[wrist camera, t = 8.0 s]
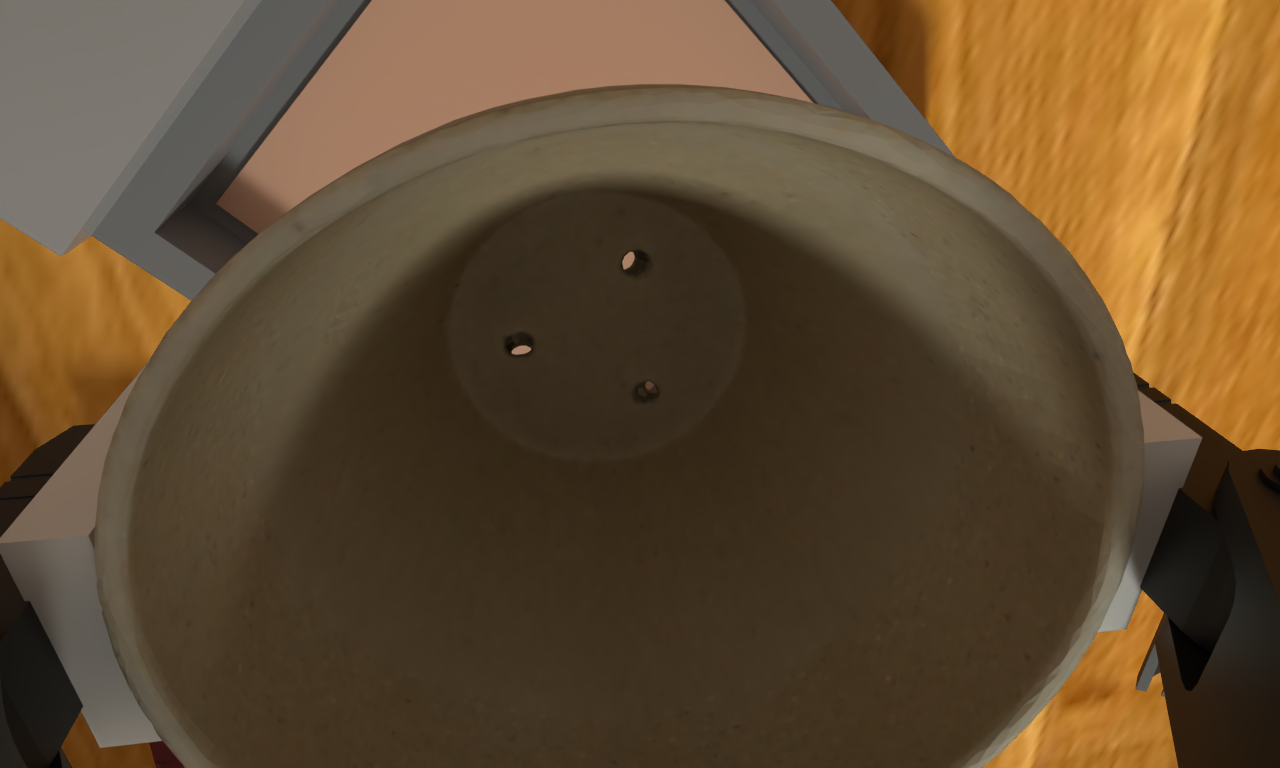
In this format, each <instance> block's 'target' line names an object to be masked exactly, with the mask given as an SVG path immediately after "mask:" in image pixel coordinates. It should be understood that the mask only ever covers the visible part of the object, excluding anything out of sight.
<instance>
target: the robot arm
mask: <svg viewBox="0 0 1280 768" xmlns="http://www.w3.org/2000/svg"><path fill="white" fill-rule="evenodd" d="M146 365H147V364H146ZM146 365H145V366H144V367H143V369H142V370H141V371H140V372H139V373H138V375H137V376H136V377H135V378H134V379H133V381H132V382H131V383H130V384H129V385H128V387H127V388H126V389H125V390H124V391H123V392H122V394H121V395H120V396H119V397H118V398H117V400H116V401H115V402H114V403H113V404H112V406H111V407H110V408H109V409H108V410H107V411H106V413H105V414H104V415H103V416H102V417H101V419H100V420H99V421H98V422H97V423H96V424H92V425H79V426H72V427H71V428H69V429H68V430H66V431H64V432H63V433H61V434H60V435H58V436H56V437H55V438H53V439H52V440H50V441H48V442H47V443H45V444H44V445H42V446H40V447H39V448H37V449H36V450H34V452H33V453H32V454H31V455H30V456H29V457H28V458H27V459H26V460H25V461H24V462H23V464H22V465H21V466H20V467H19V468H18V469H17V470H16V471H15V472H14V473H13V474H12V476H11V482H5V483H4V484H3V485H2V486H1V488H0V768H72V767H71V765H70V763H69V761H68V759H67V757H66V756H65V754H64V752H63V750H62V748H61V746H62V744H63V742H64V740H65V738H66V736H67V735H68V733H69V731H70V729H71V727H72V726H73V724H74V722H75V720H76V718H77V717H78V715H79V713H80V711H81V712H82V714H83V716H84V718H85V720H86V722H87V724H88V726H89V728H90V730H91V732H92V733H93V735H94V737H95V739H96V741H97V743H98V745H99V747H100V748H105V747H114V746H122V745H131V744H140V743H148V742H157V741H162V740H161V738H160V737H159V736H158V735H157V733H156V731H155V729H154V727H153V725H152V723H151V722H150V721H149V720H148V718H147V717H146V716H145V714H144V713H143V711H142V710H141V708H140V706H139V705H138V703H137V701H136V699H135V697H134V695H133V693H132V692H131V690H130V689H129V686H128V684H127V682H126V680H125V677H124V675H123V673H122V671H121V669H120V666H119V664H118V661H117V659H116V657H115V655H114V652H113V648H112V645H111V641H110V638H109V635H108V631H107V628H106V625H105V622H104V619H103V615H102V606H101V604H100V602H99V597H98V591H97V571H96V564H95V538H94V534H95V523H96V512H97V500H98V491H99V487H100V482H101V478H102V472H103V467H104V462H105V459H106V456H107V452H108V449H109V446H110V443H111V440H112V437H113V434H114V431H115V429H116V427H117V424H118V422H119V419H120V416H121V414H122V411H123V408H124V406H125V403H126V400H127V398H128V396H129V394H130V392H131V391H132V389H133V387H134V385H135V383H136V381H137V379H138V378H139V376H140V374H141V373H142V371H143V370H144V368H145V367H146ZM1133 374H1134V377H1135V380H1136V383H1137V388H1138V394H1139V400H1140V408H1141V416H1142V422H1143V428H1144V465H1145V481H1144V489H1143V500H1142V506H1141V511H1140V516H1139V520H1138V523H1137V527H1136V531H1135V539H1134V542H1133V546H1132V551H1131V555H1130V558H1129V561H1128V563H1127V566H1126V569H1125V572H1124V575H1123V578H1122V582H1121V584H1120V586H1119V588H1118V590H1117V592H1116V594H1115V596H1114V599H1113V601H1112V603H1111V605H1110V607H1109V609H1108V611H1107V613H1106V615H1105V618H1104V620H1103V622H1102V625H1101V627H1100V629H1099V630H1098V631H1097V632H1105V631H1113V630H1122V629H1127V626H1128V624H1129V621H1130V619H1131V616H1132V614H1133V611H1134V609H1135V606H1136V604H1137V601H1138V599H1139V596H1140V594H1141V591H1142V590H1143V591H1144V592H1145V593H1146V594H1147V595H1148V596H1149V597H1150V598H1151V599H1152V600H1153V601H1154V602H1155V603H1156V605H1157V606H1158V607H1159V608H1160V609H1161V610H1162V611H1163V612H1164V614H1163V617H1162V619H1161V622H1160V624H1159V626H1158V629H1157V631H1156V633H1155V636H1154V638H1153V640H1152V643H1151V645H1150V648H1149V650H1148V652H1147V655H1146V657H1145V659H1144V662H1143V664H1142V666H1141V669H1140V671H1139V674H1138V677H1137V683H1136V689H1138V690H1142V691H1147V689H1148V686H1149V684H1150V682H1151V680H1152V677H1153V676H1155V675H1156V674H1158V673H1161V678H1162V683H1163V688H1164V689H1163V691H1162V695H1161V696H1164V697H1165V699H1166V704H1167V710H1168V715H1169V720H1170V725H1171V731H1172V736H1173V741H1174V746H1175V752H1176V757H1177V762H1178V768H1280V451H1278V450H1267V449H1255V450H1248V451H1242V450H1241V449H1239V448H1238V447H1237V446H1235V445H1234V444H1232V443H1231V442H1230V441H1228V440H1227V439H1225V438H1224V437H1223V436H1221V435H1220V434H1218V433H1217V432H1216V431H1214V430H1213V429H1211V428H1210V427H1209V426H1207V425H1206V424H1205V423H1203V422H1202V421H1200V420H1199V419H1198V418H1196V417H1195V416H1193V415H1192V414H1191V413H1189V412H1188V411H1186V410H1185V409H1184V408H1182V407H1181V406H1179V405H1178V404H1171V399H1170V398H1168V397H1167V396H1165V395H1164V394H1163V393H1161V392H1160V391H1158V390H1157V389H1156V388H1149V383H1147V382H1146V381H1144V380H1143V379H1142V378H1140V377H1139V376H1137V375H1136V374H1135V373H1133Z"/></svg>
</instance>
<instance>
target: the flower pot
mask: <svg viewBox="0 0 1280 768" xmlns="http://www.w3.org/2000/svg"><path fill="white" fill-rule="evenodd" d="M629 252H633V253H634V256H635V257H634V261H633V263H632V265H631V266H630V267H629V268H627V269H624V268H623V264H622V261H623V259H624V257H625V256H626V255H627V254H628V253H629ZM518 346H528V347H530V348H531V350H530V351H529V352H527V353H524V354H517V355H516V354H512V351H513V350H514V349H515V348H516V347H518ZM648 381H650V382H652V383H653V384H654V385H655V386H656V389H657V391H651V390H649V389H647V388H646V387H645V385H646V382H648ZM1144 481H1145V465H1144V428H1143V422H1142V416H1141V408H1140V400H1139V394H1138V388H1137V383H1136V380H1135V377H1134V374H1133V370H1132V366H1131V362H1130V360H1129V358H1128V356H1127V354H1126V350H1125V347H1124V344H1123V340H1122V338H1121V336H1120V334H1119V332H1118V330H1117V328H1116V325H1115V323H1114V321H1113V319H1112V317H1111V315H1110V313H1109V311H1108V309H1107V307H1106V305H1105V303H1104V301H1103V299H1102V298H1101V297H1100V295H1099V294H1098V292H1097V291H1096V289H1095V288H1094V286H1093V285H1092V283H1091V282H1090V280H1089V278H1088V277H1087V275H1086V274H1085V272H1084V271H1083V270H1082V269H1081V267H1080V266H1079V264H1078V263H1077V262H1076V260H1075V259H1074V258H1073V256H1072V255H1071V253H1070V252H1069V251H1068V250H1067V249H1066V248H1065V247H1064V246H1063V245H1062V244H1061V242H1060V241H1059V240H1058V239H1057V238H1056V237H1055V236H1054V235H1053V234H1052V233H1051V232H1050V231H1049V229H1048V228H1047V227H1046V226H1045V225H1044V224H1043V223H1042V222H1041V221H1040V220H1039V219H1038V218H1036V217H1035V216H1034V215H1033V214H1032V213H1030V212H1029V211H1028V210H1027V209H1026V208H1024V207H1023V206H1022V205H1021V204H1020V203H1019V202H1018V201H1017V200H1016V199H1015V198H1014V197H1013V196H1012V195H1011V194H1010V193H1008V192H1007V191H1006V190H1004V189H1003V188H1002V187H1000V186H999V185H998V184H996V183H995V182H994V181H992V180H991V179H989V178H988V177H986V176H985V175H983V174H982V173H980V172H979V171H977V170H975V169H974V168H972V167H971V166H969V165H968V164H966V163H964V162H962V161H961V160H959V159H957V158H955V157H953V156H951V155H949V154H947V153H945V152H943V151H941V150H940V149H938V148H936V147H934V146H932V145H930V144H928V143H926V142H924V141H922V140H919V139H917V138H915V137H913V136H911V135H909V134H906V133H904V132H902V131H899V130H897V129H895V128H892V127H890V126H887V125H885V124H882V123H879V122H877V121H874V120H871V119H868V118H865V117H861V116H858V115H855V114H852V113H848V112H845V111H842V110H838V109H835V108H832V107H828V106H824V105H819V104H815V103H811V102H807V101H802V100H798V99H794V98H789V97H783V96H778V95H773V94H767V93H762V92H755V91H748V90H741V89H734V88H727V87H715V86H700V85H685V84H635V85H618V86H606V87H596V88H587V89H578V90H572V91H567V92H562V93H557V94H551V95H546V96H541V97H536V98H530V99H525V100H521V101H517V102H513V103H509V104H505V105H501V106H497V107H493V108H490V109H487V110H484V111H481V112H477V113H474V114H471V115H468V116H465V117H462V118H459V119H456V120H453V121H451V122H448V123H446V124H444V125H442V126H439V127H437V128H435V129H432V130H430V131H428V132H426V133H423V134H421V135H419V136H416V137H414V138H412V139H409V140H407V141H405V142H403V143H400V144H399V145H397V146H395V147H393V148H391V149H389V150H387V151H385V152H383V153H382V154H380V155H378V156H376V157H374V158H372V159H370V160H368V161H366V162H364V163H363V164H361V165H359V166H357V167H355V168H354V169H352V170H350V171H349V172H347V173H346V174H344V175H342V176H341V177H339V178H338V179H336V180H334V181H333V182H331V183H330V184H328V185H326V186H325V187H323V188H322V189H320V190H318V191H317V192H315V193H314V194H312V195H310V196H309V197H307V198H306V199H305V200H303V201H302V202H300V203H299V204H298V205H296V206H295V207H294V208H292V209H291V210H289V211H288V212H287V213H285V214H284V215H282V216H281V217H280V218H278V219H277V220H276V221H274V222H273V223H272V224H270V225H269V226H268V227H266V228H265V229H264V230H263V231H262V232H261V233H260V234H258V235H257V236H256V237H255V238H254V239H253V240H251V241H250V242H249V243H248V244H247V245H246V246H245V247H243V248H242V249H241V250H240V251H239V252H238V253H237V254H235V255H234V256H233V257H232V258H231V259H230V260H229V261H228V262H227V263H226V264H225V265H224V266H223V267H222V268H221V269H220V270H219V271H218V272H217V273H216V274H215V275H214V276H213V277H212V278H211V279H210V280H209V281H208V283H207V284H206V285H205V286H204V287H203V288H202V290H201V291H200V292H199V293H198V294H197V295H196V297H195V298H194V299H193V300H192V301H191V302H190V304H189V305H188V306H187V307H186V309H185V310H184V311H183V313H182V314H181V315H180V316H179V318H178V319H177V320H176V321H175V323H174V324H173V325H172V327H171V328H170V329H169V330H168V332H167V333H166V334H165V336H164V337H163V339H162V341H161V342H160V344H159V346H158V347H157V349H156V351H155V352H154V354H153V355H152V357H151V359H150V360H149V362H148V363H147V365H146V367H145V368H144V370H143V371H142V373H141V374H140V376H139V378H138V379H137V381H136V383H135V385H134V387H133V389H132V391H131V392H130V394H129V396H128V398H127V400H126V403H125V406H124V408H123V411H122V414H121V416H120V419H119V422H118V424H117V427H116V429H115V431H114V434H113V437H112V440H111V443H110V446H109V449H108V452H107V456H106V459H105V462H104V467H103V472H102V478H101V482H100V487H99V491H98V500H97V512H96V523H95V534H94V538H95V564H96V571H97V591H98V597H99V602H100V604H101V606H102V615H103V619H104V622H105V625H106V628H107V631H108V635H109V638H110V641H111V645H112V648H113V652H114V655H115V657H116V659H117V661H118V664H119V666H120V669H121V671H122V673H123V675H124V677H125V680H126V682H127V684H128V686H129V689H130V690H131V692H132V693H133V695H134V697H135V699H136V701H137V703H138V705H139V706H140V708H141V710H142V711H143V713H144V714H145V716H146V717H147V718H148V720H149V721H150V722H151V723H152V725H153V727H154V729H155V731H156V733H157V735H158V736H159V737H160V738H161V740H162V741H163V742H164V743H165V744H166V745H167V746H168V748H169V749H170V750H171V751H172V753H173V754H174V755H175V756H176V757H177V759H178V760H179V761H180V762H181V763H182V764H183V765H184V766H185V767H186V768H983V767H984V766H985V765H986V764H987V763H988V762H990V761H991V760H992V759H993V758H994V757H996V756H997V755H998V754H999V753H1001V752H1002V751H1003V750H1004V749H1005V748H1006V747H1007V746H1008V745H1009V744H1010V743H1011V742H1012V741H1013V740H1014V739H1015V738H1016V737H1017V736H1018V735H1019V734H1020V733H1021V732H1022V731H1023V730H1024V729H1025V728H1026V727H1027V726H1028V725H1029V724H1030V723H1031V722H1032V721H1033V719H1034V718H1035V717H1036V716H1037V715H1038V714H1039V713H1040V712H1041V711H1042V710H1043V708H1044V707H1045V706H1046V705H1047V704H1048V703H1049V701H1050V700H1051V699H1052V698H1053V697H1054V696H1055V694H1056V693H1057V692H1058V691H1059V690H1060V688H1061V687H1062V686H1063V684H1064V683H1065V682H1066V680H1067V679H1068V677H1069V676H1070V675H1071V673H1072V672H1073V671H1074V669H1075V668H1076V667H1077V665H1078V663H1079V661H1080V659H1081V658H1082V656H1083V655H1084V654H1085V652H1086V651H1087V649H1088V648H1089V646H1090V645H1091V643H1092V642H1093V640H1094V638H1095V636H1096V634H1097V631H1098V630H1099V629H1100V627H1101V625H1102V622H1103V620H1104V618H1105V615H1106V613H1107V611H1108V609H1109V607H1110V605H1111V603H1112V601H1113V599H1114V596H1115V594H1116V592H1117V590H1118V588H1119V586H1120V584H1121V582H1122V578H1123V575H1124V572H1125V569H1126V566H1127V563H1128V561H1129V558H1130V555H1131V551H1132V546H1133V542H1134V539H1135V531H1136V527H1137V523H1138V520H1139V516H1140V511H1141V506H1142V500H1143V489H1144Z"/></svg>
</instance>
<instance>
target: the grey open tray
mask: <svg viewBox="0 0 1280 768" xmlns="http://www.w3.org/2000/svg"><path fill="white" fill-rule="evenodd" d="M635 84H685V85H700V86H715V87H727V88H734V89H741V90H748V91H755V92H762V93H767V94H773V95H778V96H783V97H789V98H794V99H798V100H802V101H807V102H811V103H815V104H819V105H824V106H828V107H832V108H835V109H838V110H842V111H845V112H848V113H852V114H855V115H858V116H861V117H865V118H868V119H871V120H874V121H877V122H879V123H882V124H885V125H887V126H890V127H892V128H895V129H897V130H899V131H902V132H904V133H906V134H909V135H911V136H913V137H915V138H917V139H919V140H922V141H924V142H926V143H928V144H930V145H932V146H934V147H936V148H938V149H940V150H941V151H943V152H945V153H947V154H949V155H951V156H953V157H955V156H954V155H953V154H952V152H951V151H950V150H949V149H948V147H947V146H946V145H945V144H944V142H943V141H942V140H941V139H940V137H939V136H938V135H937V133H936V132H935V131H934V130H933V128H932V127H931V126H930V125H929V123H928V122H927V121H926V120H925V118H924V117H923V116H922V114H921V113H920V112H919V111H918V109H917V108H916V107H915V106H914V104H913V103H912V102H911V101H910V99H909V98H908V97H907V96H906V94H905V93H904V92H903V90H902V89H901V88H900V87H899V85H898V84H897V83H896V82H895V80H894V79H893V78H892V77H891V75H890V74H889V73H888V71H887V70H886V69H885V68H884V66H883V65H882V64H881V63H880V61H879V60H878V59H877V58H876V56H875V55H874V54H873V53H872V51H871V50H870V49H869V47H868V46H867V45H866V44H865V42H864V41H863V40H862V39H861V37H860V36H859V35H858V34H857V32H856V31H855V30H854V28H853V27H852V26H851V25H850V23H849V22H848V21H847V20H846V18H845V17H844V16H843V15H842V13H841V12H840V11H839V10H838V8H837V7H836V6H835V4H834V3H833V2H832V1H831V0H0V219H2V220H4V221H5V222H7V223H8V224H10V225H11V226H13V227H15V228H16V229H18V230H19V231H21V232H23V233H24V234H26V235H27V236H29V237H31V238H32V239H34V240H35V241H37V242H39V243H40V244H42V245H43V246H45V247H46V248H48V249H50V250H51V251H53V252H54V253H56V254H58V255H59V256H63V255H64V254H66V253H67V252H69V251H70V250H71V249H73V248H74V247H76V246H77V245H79V244H80V243H81V242H83V241H84V240H86V239H87V238H89V237H90V236H93V237H94V238H96V239H98V240H99V241H101V242H102V243H104V244H105V245H107V246H108V247H110V248H111V249H113V250H114V251H116V252H117V253H119V254H121V255H122V256H124V257H125V258H127V259H128V260H130V261H131V262H133V263H134V264H136V265H137V266H139V267H141V268H142V269H144V270H145V271H147V272H148V273H150V274H151V275H153V276H154V277H156V278H157V279H159V280H161V281H162V282H164V283H165V284H167V285H168V286H170V287H171V288H173V289H174V290H176V291H177V292H179V293H181V294H182V295H184V296H185V297H187V298H188V299H190V300H191V301H192V300H193V299H194V298H195V297H196V295H197V294H198V293H199V292H200V291H201V290H202V288H203V287H204V286H205V285H206V284H207V283H208V281H209V280H210V279H211V278H212V277H213V276H214V275H215V274H216V273H217V272H218V271H219V270H220V269H221V268H222V267H223V266H224V265H225V264H226V263H227V262H228V261H229V260H230V259H231V258H232V257H233V256H234V255H235V254H237V253H238V252H239V251H240V250H241V249H242V248H243V247H245V246H246V245H247V244H248V243H249V242H250V241H251V240H253V239H254V238H255V237H256V236H257V235H258V234H260V233H261V232H262V231H263V230H264V229H265V228H266V227H268V226H269V225H270V224H272V223H273V222H274V221H276V220H277V219H278V218H280V217H281V216H282V215H284V214H285V213H287V212H288V211H289V210H291V209H292V208H294V207H295V206H296V205H298V204H299V203H300V202H302V201H303V200H305V199H306V198H307V197H309V196H310V195H312V194H314V193H315V192H317V191H318V190H320V189H322V188H323V187H325V186H326V185H328V184H330V183H331V182H333V181H334V180H336V179H338V178H339V177H341V176H342V175H344V174H346V173H347V172H349V171H350V170H352V169H354V168H355V167H357V166H359V165H361V164H363V163H364V162H366V161H368V160H370V159H372V158H374V157H376V156H378V155H380V154H382V153H383V152H385V151H387V150H389V149H391V148H393V147H395V146H397V145H399V144H400V143H403V142H405V141H407V140H409V139H412V138H414V137H416V136H419V135H421V134H423V133H426V132H428V131H430V130H432V129H435V128H437V127H439V126H442V125H444V124H446V123H448V122H451V121H453V120H456V119H459V118H462V117H465V116H468V115H471V114H474V113H477V112H481V111H484V110H487V109H490V108H493V107H497V106H501V105H505V104H509V103H513V102H517V101H521V100H525V99H530V98H536V97H541V96H546V95H551V94H557V93H562V92H567V91H572V90H578V89H587V88H596V87H606V86H618V85H635ZM955 158H956V157H955ZM634 257H635V256H634V253H633V252H629V253H628V254H627V255H626V256H625V257H624V259H623V261H622V264H623V268H624V269H627V268H629V267H630V266H631V265H632V263H633V261H634ZM530 350H531V348H530V347H528V346H518V347H516V348H515V349H514V350H513V351H512V354H516V355H517V354H524V353H527V352H529V351H530ZM645 387H646V388H647V389H649V390H651V391H657V389H656V386H655V385H654V384H653V383H652V382H650V381H648V382H646V385H645Z"/></svg>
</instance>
